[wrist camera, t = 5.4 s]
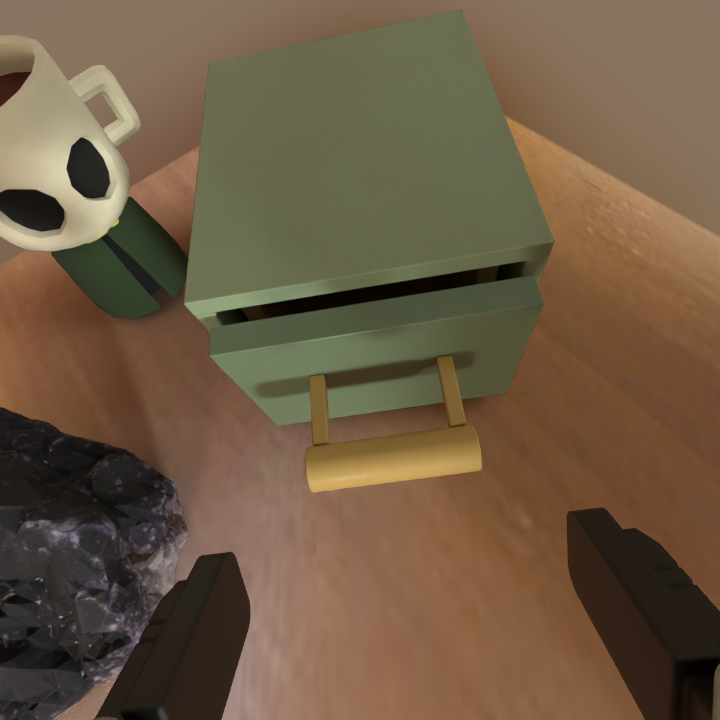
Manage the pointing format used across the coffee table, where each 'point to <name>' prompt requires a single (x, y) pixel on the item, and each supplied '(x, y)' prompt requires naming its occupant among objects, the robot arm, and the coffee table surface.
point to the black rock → (76, 562)
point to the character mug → (78, 183)
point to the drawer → (383, 367)
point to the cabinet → (356, 171)
